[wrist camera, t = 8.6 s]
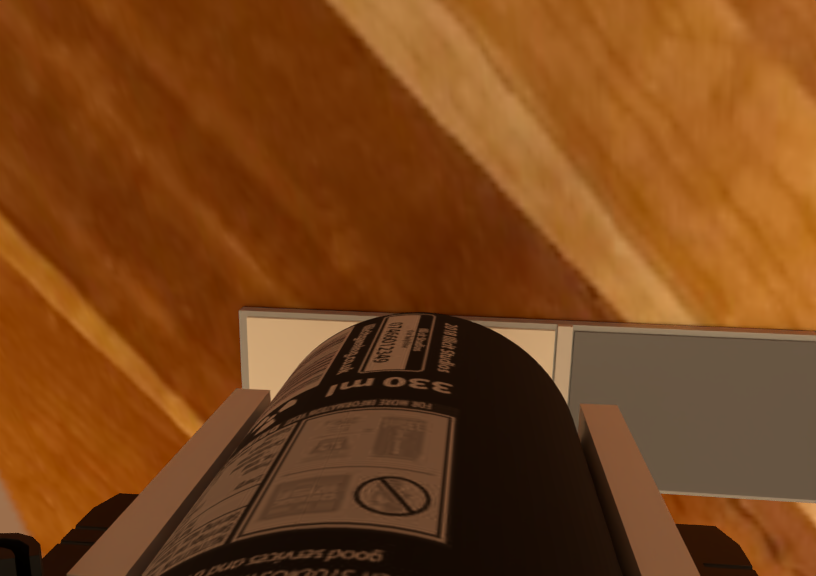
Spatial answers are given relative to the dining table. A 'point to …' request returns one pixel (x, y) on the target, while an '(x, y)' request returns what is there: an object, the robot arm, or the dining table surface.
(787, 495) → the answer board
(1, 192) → the dining table surface
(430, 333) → the beverage can
